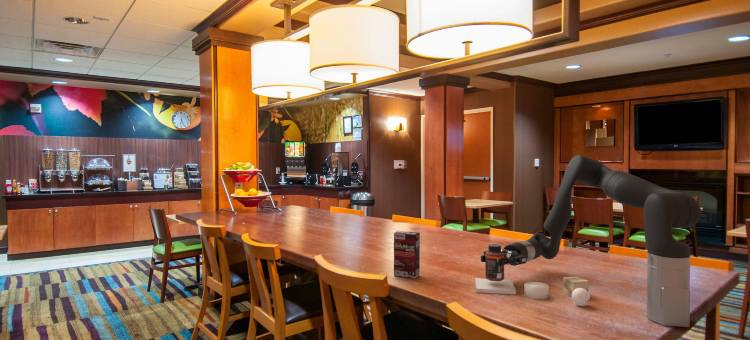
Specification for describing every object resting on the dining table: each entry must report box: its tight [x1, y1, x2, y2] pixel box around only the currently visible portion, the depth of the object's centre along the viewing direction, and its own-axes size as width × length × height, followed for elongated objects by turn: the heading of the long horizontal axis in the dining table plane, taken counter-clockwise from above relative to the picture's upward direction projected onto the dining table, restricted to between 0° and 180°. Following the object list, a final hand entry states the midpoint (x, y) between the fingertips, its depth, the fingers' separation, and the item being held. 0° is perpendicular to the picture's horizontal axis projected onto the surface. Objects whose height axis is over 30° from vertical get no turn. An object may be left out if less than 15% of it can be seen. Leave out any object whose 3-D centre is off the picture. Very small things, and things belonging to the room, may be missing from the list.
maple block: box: [562, 276, 589, 298], centre depth 133 cm, size 5×5×5 cm
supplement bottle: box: [484, 243, 505, 281], centre depth 141 cm, size 6×6×11 cm
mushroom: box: [571, 288, 591, 307], centre depth 124 cm, size 5×5×5 cm
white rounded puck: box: [523, 281, 550, 300], centre depth 133 cm, size 7×7×4 cm
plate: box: [474, 277, 517, 295], centre depth 141 cm, size 12×12×1 cm
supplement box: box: [393, 230, 421, 279], centre depth 156 cm, size 9×5×16 cm, turn 65°
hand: (490, 260), depth 140 cm, fingers closed on supplement bottle, 6 cm apart
